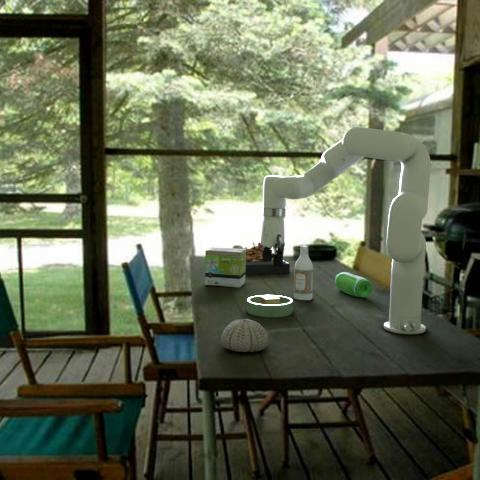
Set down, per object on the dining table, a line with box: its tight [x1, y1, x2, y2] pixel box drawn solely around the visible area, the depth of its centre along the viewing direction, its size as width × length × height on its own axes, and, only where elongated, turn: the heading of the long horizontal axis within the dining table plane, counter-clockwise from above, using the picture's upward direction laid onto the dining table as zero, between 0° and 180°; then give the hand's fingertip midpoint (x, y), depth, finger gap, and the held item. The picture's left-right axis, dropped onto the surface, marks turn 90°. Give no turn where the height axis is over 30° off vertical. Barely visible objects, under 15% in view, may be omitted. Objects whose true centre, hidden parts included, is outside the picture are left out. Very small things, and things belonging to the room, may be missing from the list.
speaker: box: [334, 271, 373, 299], centre depth 241 cm, size 18×7×8 cm, turn 21°
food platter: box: [232, 241, 291, 275], centre depth 303 cm, size 45×25×10 cm, turn 12°
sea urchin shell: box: [220, 318, 271, 353], centre depth 170 cm, size 13×14×8 cm
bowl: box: [246, 294, 294, 318], centre depth 210 cm, size 15×15×4 cm
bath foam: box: [293, 245, 314, 301], centre depth 230 cm, size 7×7×20 cm
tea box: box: [204, 246, 246, 289], centre depth 256 cm, size 15×10×15 cm, turn 76°
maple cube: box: [261, 294, 280, 305], centre depth 210 cm, size 5×5×5 cm
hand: (272, 263), depth 208 cm, fingers open, 9 cm apart
